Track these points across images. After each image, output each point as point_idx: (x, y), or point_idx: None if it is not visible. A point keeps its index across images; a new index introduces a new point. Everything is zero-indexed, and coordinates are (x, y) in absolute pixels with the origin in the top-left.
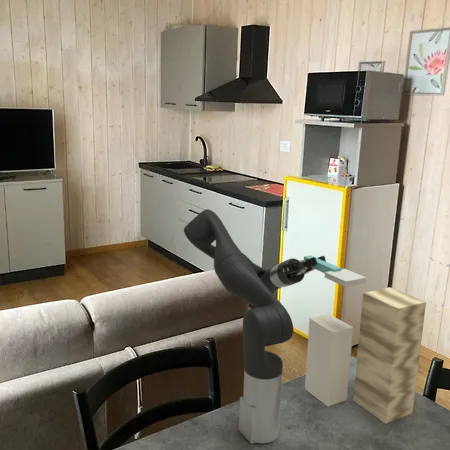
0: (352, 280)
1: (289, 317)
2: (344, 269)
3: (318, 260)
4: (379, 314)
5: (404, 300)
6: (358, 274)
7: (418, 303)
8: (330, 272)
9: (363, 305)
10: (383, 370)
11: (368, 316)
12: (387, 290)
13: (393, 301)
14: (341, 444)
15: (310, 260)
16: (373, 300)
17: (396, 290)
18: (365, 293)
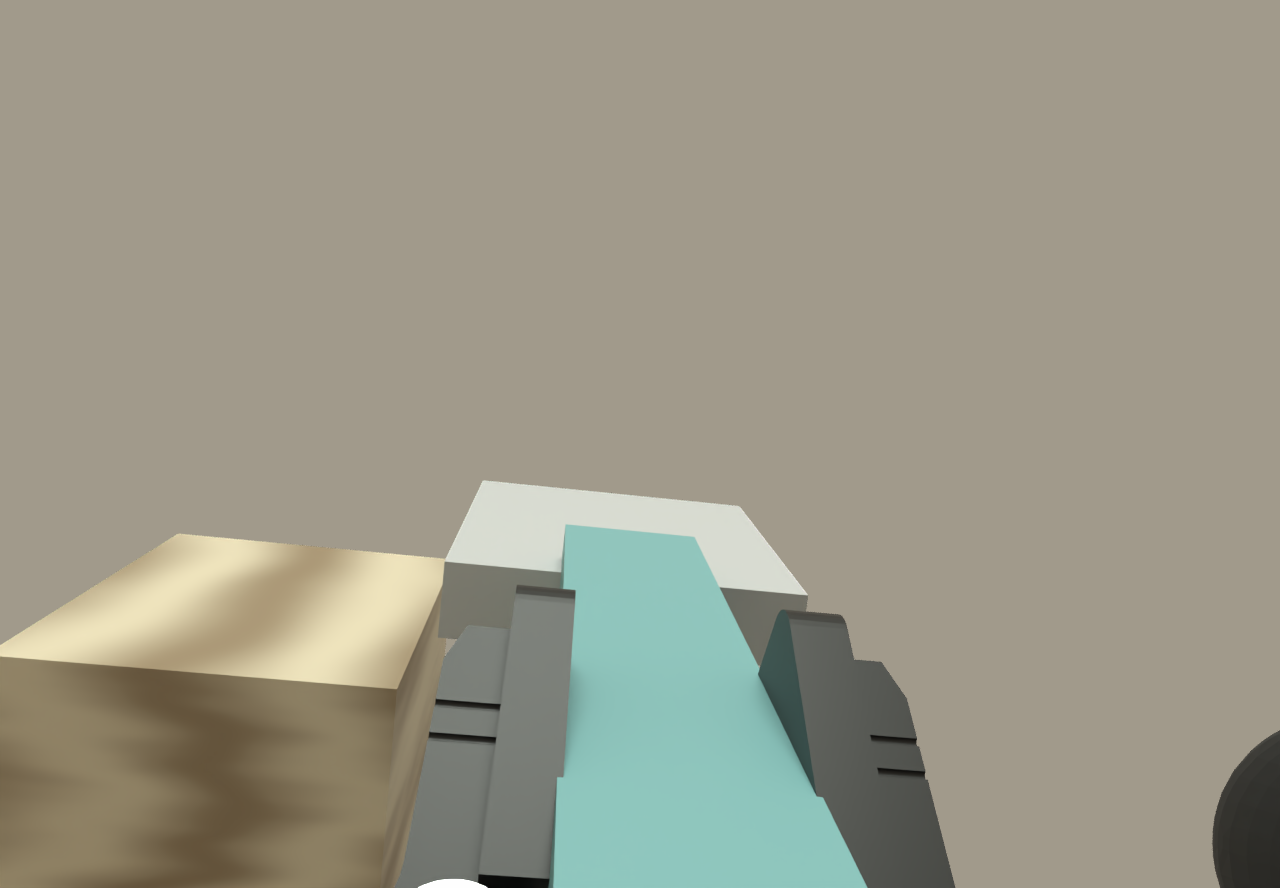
0: (658, 500)
1: (1276, 732)
2: (479, 558)
3: (661, 697)
4: (420, 720)
5: (268, 569)
6: (479, 501)
7: (247, 542)
8: (744, 576)
9: (389, 802)
10: None
11: (397, 838)
12: (121, 642)
13: (359, 584)
14: None
15: (890, 704)
16: (417, 661)
17: (52, 621)
18: (389, 679)
